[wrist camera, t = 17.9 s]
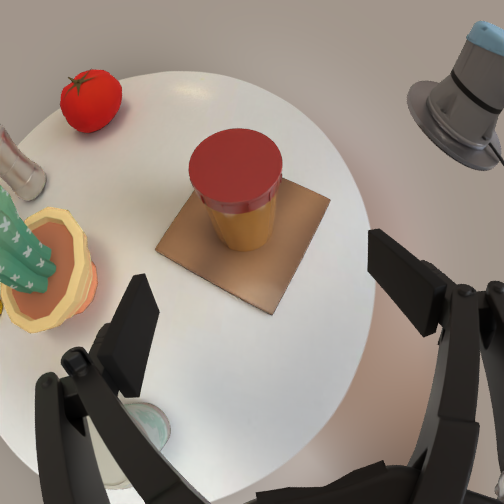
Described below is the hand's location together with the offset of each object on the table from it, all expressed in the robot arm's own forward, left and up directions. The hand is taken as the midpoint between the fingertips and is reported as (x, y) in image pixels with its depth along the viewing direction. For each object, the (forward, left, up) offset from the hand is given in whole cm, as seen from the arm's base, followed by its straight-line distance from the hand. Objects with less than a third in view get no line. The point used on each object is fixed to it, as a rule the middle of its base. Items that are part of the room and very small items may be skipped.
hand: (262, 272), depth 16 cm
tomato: (+41, -15, -17) cm, 47 cm away
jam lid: (+7, -8, -4) cm, 11 cm away
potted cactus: (+24, +10, -17) cm, 31 cm away
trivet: (+7, -8, -17) cm, 20 cm away
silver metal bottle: (+44, +2, -17) cm, 47 cm away
